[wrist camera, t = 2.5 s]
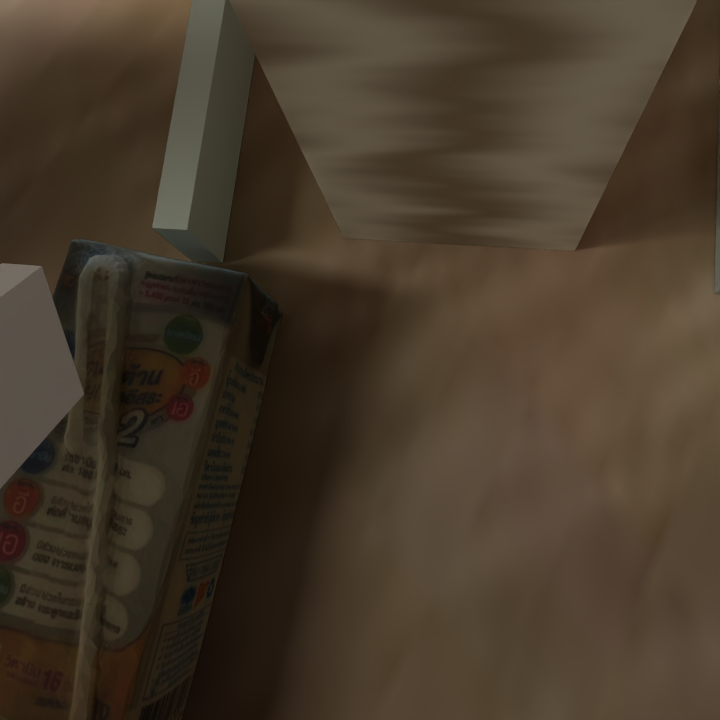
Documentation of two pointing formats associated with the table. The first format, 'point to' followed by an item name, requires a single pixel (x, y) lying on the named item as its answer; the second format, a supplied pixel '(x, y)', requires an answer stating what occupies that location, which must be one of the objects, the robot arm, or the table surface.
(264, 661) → the table surface
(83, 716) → the beverage carton
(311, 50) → the birch block
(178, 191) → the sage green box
